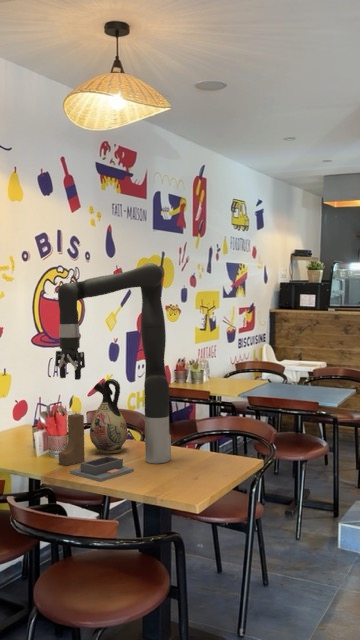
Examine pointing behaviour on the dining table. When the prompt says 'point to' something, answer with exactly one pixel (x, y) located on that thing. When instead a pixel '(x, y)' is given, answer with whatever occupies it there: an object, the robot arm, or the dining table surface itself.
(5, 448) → the dining table surface
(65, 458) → the wooden block
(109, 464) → the pocket plate
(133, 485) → the dining table surface
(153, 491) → the dining table surface
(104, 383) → the ceramic jug
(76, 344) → the robot arm
